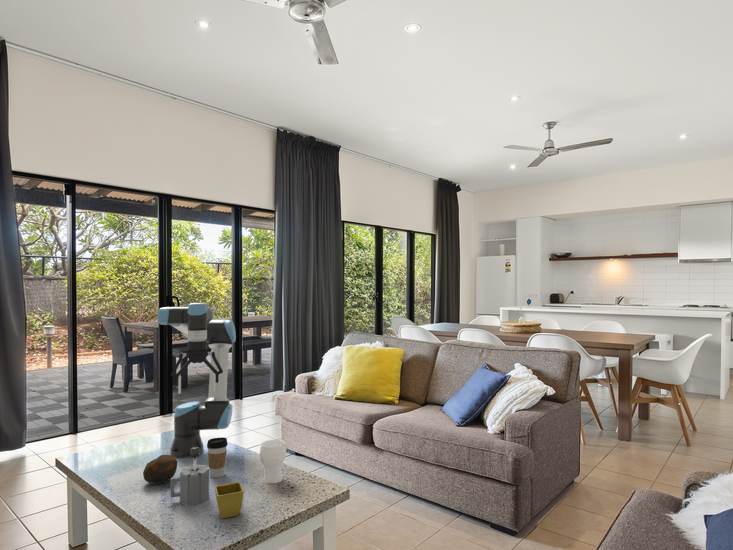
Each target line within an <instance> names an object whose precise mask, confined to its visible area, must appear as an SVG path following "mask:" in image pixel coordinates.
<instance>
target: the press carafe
mask: <svg viewBox="0 0 733 550" xmlns="http://www.w3.org/2000/svg"><path fill="white" fill-rule="evenodd" d="M179 473H180V474H179V476H173V477H172V478H171V479H170V498H171V499H172V498H177V497H178V498H179V504H183V505H186V506H193V505H200V504H202V503H205V502H206V501H208V500H209V499H210V470H209V465H207V464H206V465H205V464H201V465H200V464H196V471H194V464H192V465H191V466H190V465H187V466H185V467H183V468H181V469H180V472H179ZM177 482H179V485H180V486H179V491H175V483H177Z"/></svg>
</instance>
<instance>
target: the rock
mask: <svg viewBox="0 0 733 550" xmlns="http://www.w3.org/2000/svg"><path fill="white" fill-rule="evenodd" d="M177 468H178V460H177V457H175V456H172V455H170V454H161V455H159V456H158V457H156V458H154V459H152V460H151V461H149V462H148V463H147V464H146V465H145V467H144V469H143V472H142V474H143V475H142V476H143V479H144V481H145V482H147V483H149V484H163V483H167V482H169V481H171V478H172V477H175V474H176V471H177Z"/></svg>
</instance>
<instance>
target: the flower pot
mask: <svg viewBox="0 0 733 550" xmlns="http://www.w3.org/2000/svg"><path fill="white" fill-rule="evenodd" d="M214 490H215V491H214V492H215V500H216V505H217V509H218V512H219V515H220V518H222V519H227V518H231V517H237V516H238V515H239V514H240V512H241V509H242V508H243V501H244V493H245V491H244V488H243V486H242V483H241V481H238V482H232V483H227V484H220V485H217V486H214Z"/></svg>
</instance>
